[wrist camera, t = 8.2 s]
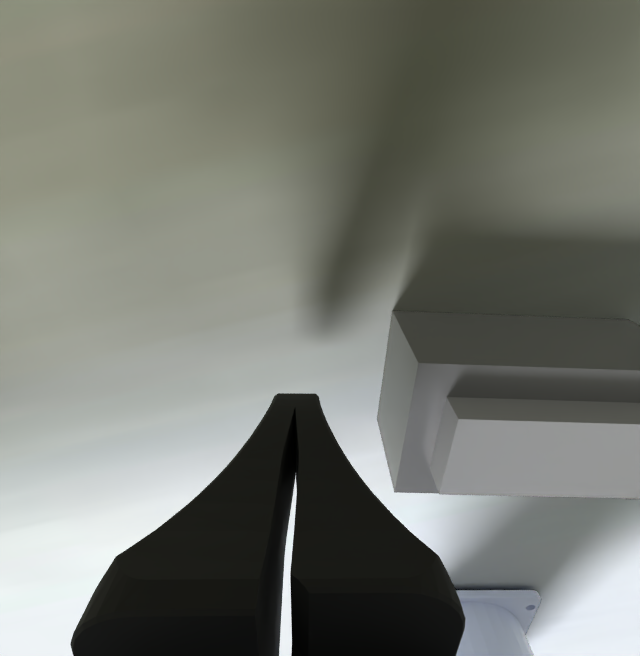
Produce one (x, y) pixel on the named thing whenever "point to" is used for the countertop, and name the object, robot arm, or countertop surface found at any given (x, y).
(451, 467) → the stepped grey block
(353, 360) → the countertop surface
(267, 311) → the countertop surface
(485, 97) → the countertop surface
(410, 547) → the robot arm
